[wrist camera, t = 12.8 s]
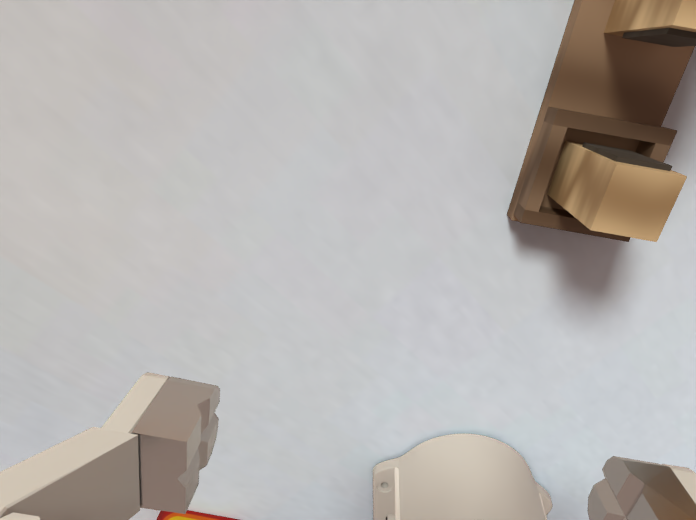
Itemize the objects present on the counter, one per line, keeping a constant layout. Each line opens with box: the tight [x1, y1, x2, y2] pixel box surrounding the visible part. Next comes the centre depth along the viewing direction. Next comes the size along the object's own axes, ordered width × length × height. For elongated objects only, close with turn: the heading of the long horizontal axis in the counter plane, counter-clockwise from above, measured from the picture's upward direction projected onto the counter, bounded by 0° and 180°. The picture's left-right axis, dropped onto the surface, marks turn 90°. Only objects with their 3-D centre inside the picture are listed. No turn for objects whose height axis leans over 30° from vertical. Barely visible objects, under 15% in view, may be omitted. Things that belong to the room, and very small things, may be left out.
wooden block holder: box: [507, 0, 696, 242], centre depth 29 cm, size 19×8×10 cm, turn 171°
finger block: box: [547, 141, 687, 242], centre depth 30 cm, size 4×4×8 cm
